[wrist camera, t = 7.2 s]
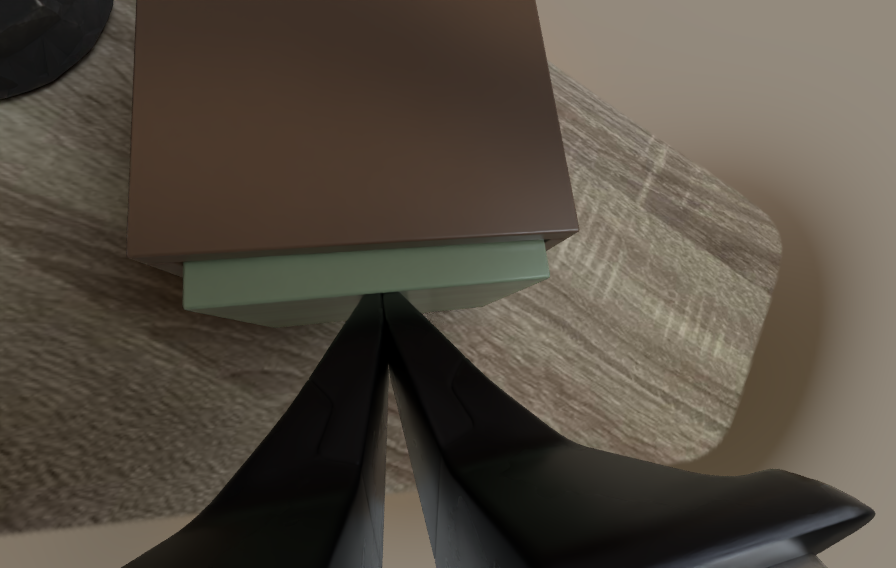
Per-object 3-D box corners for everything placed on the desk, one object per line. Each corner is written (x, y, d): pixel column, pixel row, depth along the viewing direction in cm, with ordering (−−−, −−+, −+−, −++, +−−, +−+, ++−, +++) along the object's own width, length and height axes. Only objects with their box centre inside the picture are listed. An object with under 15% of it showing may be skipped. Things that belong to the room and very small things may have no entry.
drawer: (486, 332, 16) (559, 321, 9) (274, 358, 14) (180, 365, 7) (458, 125, 17) (502, -5, 11) (266, 123, 15) (184, -36, 9)
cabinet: (487, 287, 17) (581, 231, 9) (263, 307, 15) (123, 257, 7) (461, 103, 18) (520, -82, 11) (257, 98, 16) (140, -137, 8)
